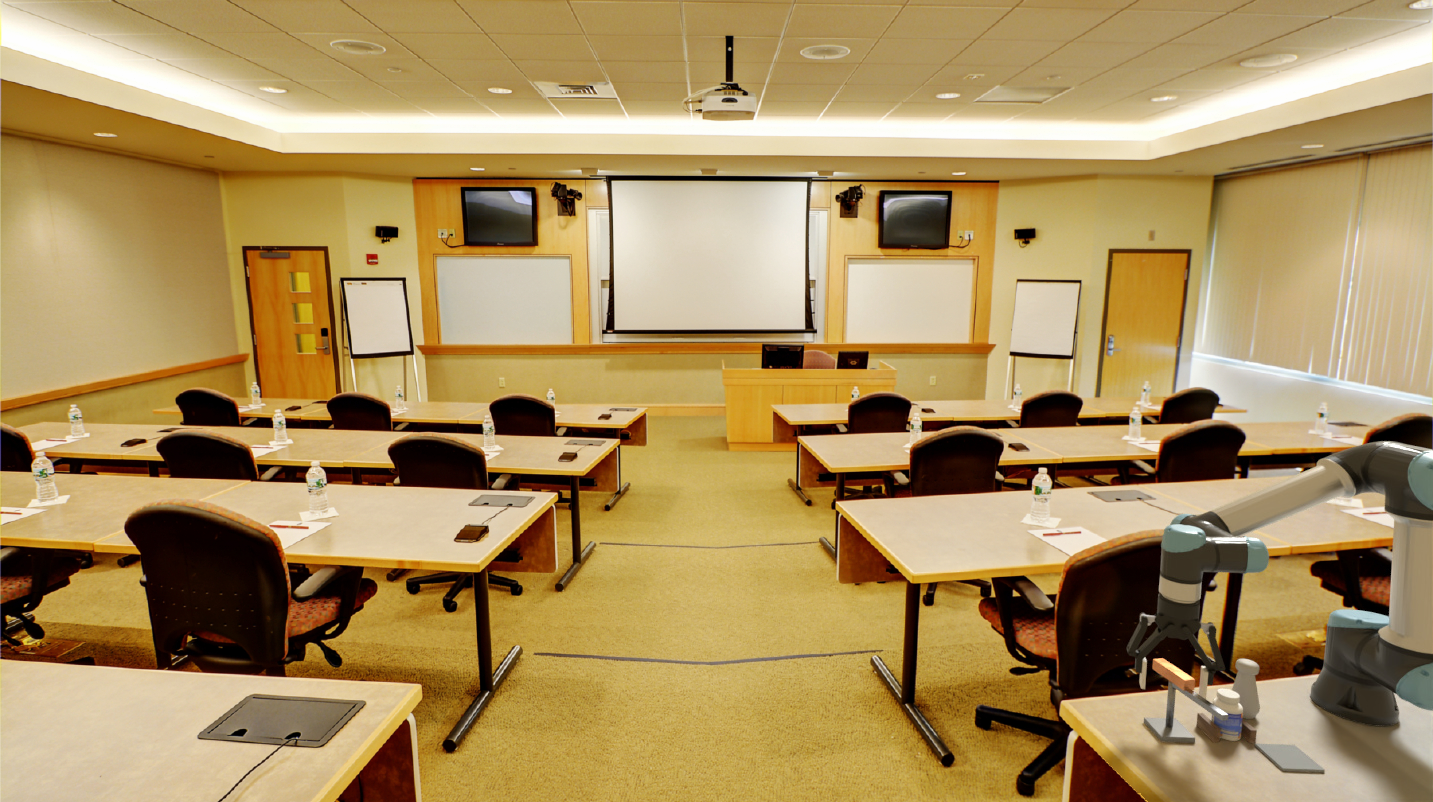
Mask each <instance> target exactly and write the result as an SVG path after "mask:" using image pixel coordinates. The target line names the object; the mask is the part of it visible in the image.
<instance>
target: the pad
mask: <svg viewBox="0 0 1433 802" xmlns="http://www.w3.org/2000/svg"><path fill="white" fill-rule="evenodd" d="M1254 746H1255V748H1257V750H1258V751H1260V752H1261V753H1262V754H1263V755H1264V756H1266V758H1267V759H1268V760H1270V761H1271V762H1272V763H1273V764H1274V765H1275V766H1276V767H1277V768H1278V769H1280V771H1282V772H1294V773H1295V772H1296V773H1297V772H1301V773H1324V774H1325V772H1326V769H1325V768H1323V766H1322V765H1320V764H1319V763H1318V762H1316V761H1315V760H1313V758H1311V757H1310V756H1309V755H1308V754H1307V753H1306V752H1305V751H1303V750H1302V749H1301V748H1299V747H1298V746H1297V745H1296V744H1286V743H1285V744H1283V743H1282V744H1281V743H1280V744H1279V743H1254Z"/></svg>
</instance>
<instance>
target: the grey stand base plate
mask: <svg viewBox="0 0 1433 802" xmlns="http://www.w3.org/2000/svg"><path fill="white" fill-rule="evenodd" d="M1165 723H1166V717H1143V724H1144V725H1145V726H1146V727H1147V728H1148V729H1149V730H1150V731H1151V732H1152V733H1153V734H1154V735H1155V737H1157V739H1158V740H1159V741H1160V742H1163V743H1187V744H1188V743H1191V744H1192V743H1194V744H1195V743H1196V737H1195V736H1194V735H1193V734H1192V732H1190V731H1189V730H1188V728H1187V727H1185V725H1184V724H1182V723H1181V721H1179V719H1177V718H1176V717H1174V720H1173V728H1169V727H1166V725H1165Z"/></svg>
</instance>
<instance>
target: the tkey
mask: <svg viewBox="0 0 1433 802" xmlns="http://www.w3.org/2000/svg"><path fill="white" fill-rule="evenodd" d="M1152 670H1153V671H1155V672H1156V673H1158V674H1159V675H1160V676H1162V677H1163V678H1164V679H1167V680H1168V684H1167V685H1168V688H1167V697H1166V698H1167V699H1166V712H1165V713H1166V714H1165V718H1166V723H1165V725H1166V727H1169V728H1173V720H1174V718H1175V717H1174V716H1175V704H1176V692H1177V691H1178V692H1179V693H1181V694H1183V695H1184V696H1185V697H1187V698H1188V699H1190V700H1191V701H1193V702H1194V703H1195V704H1197V706H1200V707H1201V708H1202V709H1204V710H1206V711H1207V712H1208V713H1210V714H1211V715H1212V714H1213V715H1214V716H1215V717H1217V718H1218V719H1220V720H1221V721H1225V720H1228V714H1227V713H1225V712H1224V711H1222V710H1221V709H1219V708H1218V707H1216V706H1215V705H1213V702H1210V701H1209V700H1208V699H1207V698H1206V699H1205V698H1203V697H1202V696H1200V695H1199V693H1197V692H1195V691H1194V690H1195V688H1196V687H1195V686H1196V679H1195V678H1194V677H1192V676H1191V675H1189V674H1188V673H1186V672H1184V671H1183V670H1182V669H1180V668H1179V667H1177V666H1176V665H1174V664H1173V663H1170V661H1167V659H1165V658H1163V657H1162V658H1153V659H1152Z"/></svg>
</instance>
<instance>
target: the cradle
mask: <svg viewBox="0 0 1433 802" xmlns="http://www.w3.org/2000/svg"><path fill="white" fill-rule="evenodd" d="M1211 720H1212V719H1210V718H1209V717H1208V716H1207V715H1206V714H1205V713H1203V712H1197V715H1196V727H1198V728H1199V729H1200V730H1201V732H1203V733H1204V734H1205V736H1207V737H1208V738H1209V739H1210V740H1211V741H1212V742H1213V743H1220V741H1221V740H1220V739H1221V738H1220V731H1221V729H1220V728H1219V727H1218V726H1216V725H1215V724H1214V723H1213V722H1212V721H1211ZM1241 738H1243V739H1244V740H1245V741H1247V742H1248V743H1249V744H1257V743H1256V742H1257V729H1256V728H1255V727H1253V726H1252V725H1251V724H1250V723H1249V722H1248V721H1246V719H1245V718H1242V730H1241Z"/></svg>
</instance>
